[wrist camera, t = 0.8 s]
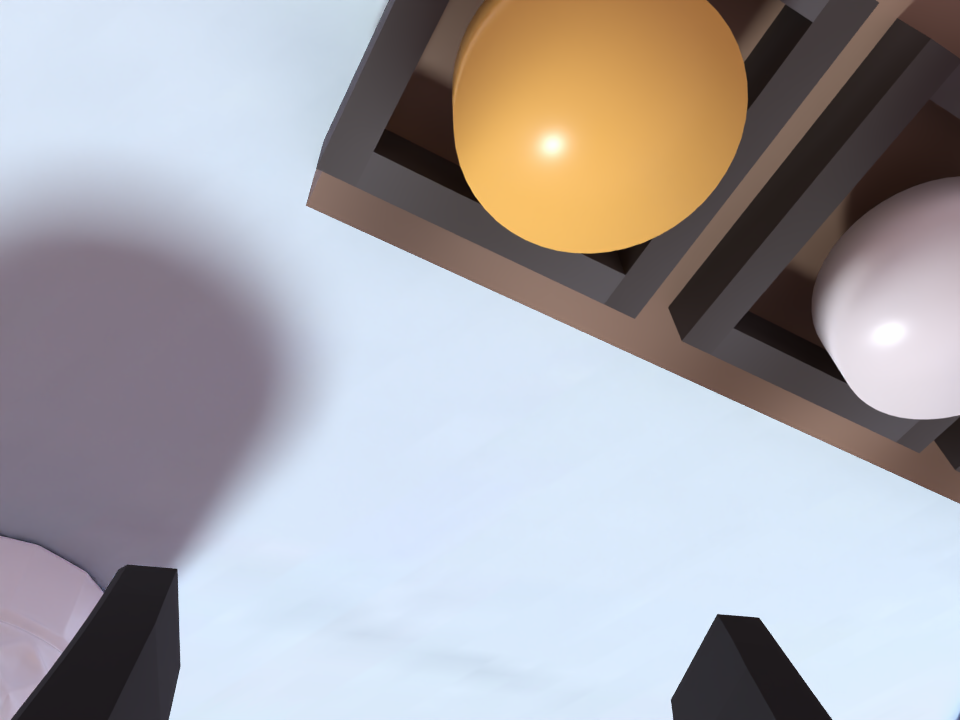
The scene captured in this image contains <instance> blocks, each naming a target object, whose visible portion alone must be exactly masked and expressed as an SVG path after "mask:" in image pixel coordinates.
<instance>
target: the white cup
mask: <svg viewBox="0 0 960 720" xmlns="http://www.w3.org/2000/svg"><path fill="white" fill-rule="evenodd" d="M103 594H104V592H103V591H102V590H101V589H100V588H99V586H98V585H97V584H96V583H95V582H94V580H93V579H92V578H91V577H90V576H89V574H88V573H87V572H86V571H84V570H82V569H80V568H79V567H77V566H75V565H73V564H72V563H70V562H68V561H66V560H65V559H63V558H61V557H59V556H57V555H56V554H54V553H52V552H50V551H48V550H46V549H45V548H43V547H41V546H39V545H36V544H33V543H28V542H24V541H20V540H16V539H12V538H8V537H3V536H0V720H11V719H12V717H13V716H14V715H15V713H16V712H17V711H18V710H19V708H20V707H21V706H22V705H23V703H24V702H25V701H26V699H27V698H28V697H29V696H30V694H31V693H32V692H33V690H34V689H35V688H36V687H37V685H38V684H39V683H40V682H41V680H42V679H43V678H44V676H45V675H46V674H47V673H48V671H49V670H50V669H51V667H52V666H53V665H54V663H55V662H56V661H57V659H58V658H59V657H60V655H61V654H62V652H63V651H64V650H65V648H66V647H67V646H68V644H69V643H70V642H71V640H72V639H73V637H74V636H75V635H76V633H77V632H78V630H79V629H80V628H81V626H82V625H83V623H84V622H85V620H86V619H87V618H88V616H89V615H90V613H91V612H92V610H93V609H94V607H95V606H96V604H97V603H98V601H99V600H100V598H101V597H102V595H103Z"/></svg>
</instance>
